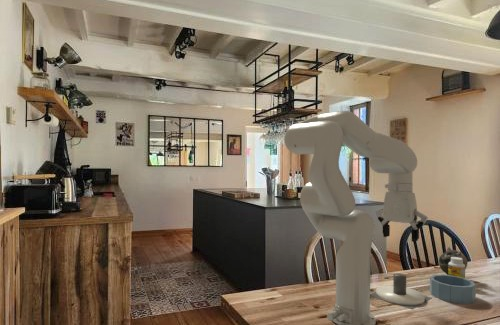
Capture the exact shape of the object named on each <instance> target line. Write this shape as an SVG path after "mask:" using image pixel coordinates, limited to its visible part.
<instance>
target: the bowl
mask: <svg viewBox="0 0 500 325" xmlns="http://www.w3.org/2000/svg"><path fill="white" fill-rule="evenodd" d="M476 285H477V284H476V283H475V282H474V281H472V280H470V279H467V278H466V277H465V278H461V277H457V276H451V275H447V274H433V275H431V276H429V293H430V295H431V296H432V297H434V298H437V299H438V300H442V301H445V302H449V303H455V304H462V305H463V304H464V305H466V304H473V303H474V302H476V294H477V293H476V290H477V289H476Z"/></svg>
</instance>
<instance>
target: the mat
mask: <svg viewBox="0 0 500 325" xmlns="http://www.w3.org/2000/svg"><path fill="white" fill-rule="evenodd" d="M424 296H425V302H424V303H423V304H425V303H427V302H429V301H430V300H432V299H433V298H432V297H431V296H426V295H424ZM371 297H372V298H375V299H378V300H381V301H385V300H383V299H381V298H379V297H378V296H377V295H376V291H375V292H371V293H370V298H371ZM385 302H387V303H391V302H388V301H385ZM391 304H393V305H397V306H400V307H403V308H406V309H409V310H414V309H416V308H418V307H419V306H422V304H420V305H400V304H395V303H391Z"/></svg>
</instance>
